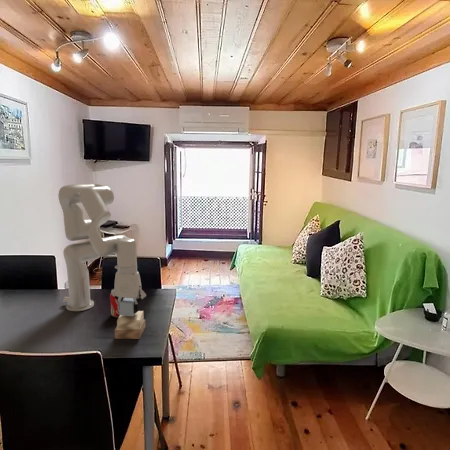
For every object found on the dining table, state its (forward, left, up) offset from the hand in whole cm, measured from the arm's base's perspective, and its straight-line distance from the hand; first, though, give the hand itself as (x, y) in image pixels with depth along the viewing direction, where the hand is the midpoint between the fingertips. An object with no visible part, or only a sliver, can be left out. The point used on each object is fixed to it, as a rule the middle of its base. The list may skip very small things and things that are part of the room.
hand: (129, 311), depth 146 cm
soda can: (-13, +15, -10) cm, 22 cm away
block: (0, 0, -1) cm, 1 cm away
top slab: (+1, 0, -6) cm, 6 cm away
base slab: (0, 0, -10) cm, 10 cm away
